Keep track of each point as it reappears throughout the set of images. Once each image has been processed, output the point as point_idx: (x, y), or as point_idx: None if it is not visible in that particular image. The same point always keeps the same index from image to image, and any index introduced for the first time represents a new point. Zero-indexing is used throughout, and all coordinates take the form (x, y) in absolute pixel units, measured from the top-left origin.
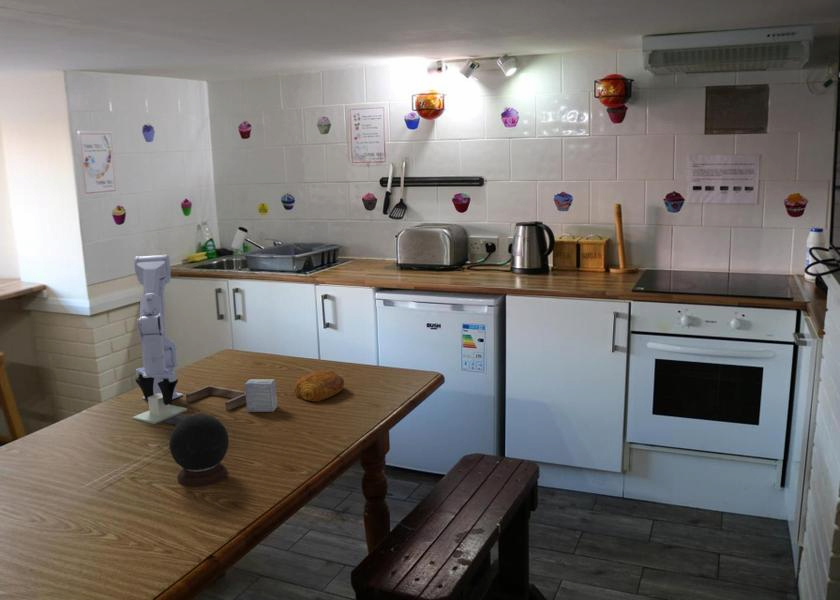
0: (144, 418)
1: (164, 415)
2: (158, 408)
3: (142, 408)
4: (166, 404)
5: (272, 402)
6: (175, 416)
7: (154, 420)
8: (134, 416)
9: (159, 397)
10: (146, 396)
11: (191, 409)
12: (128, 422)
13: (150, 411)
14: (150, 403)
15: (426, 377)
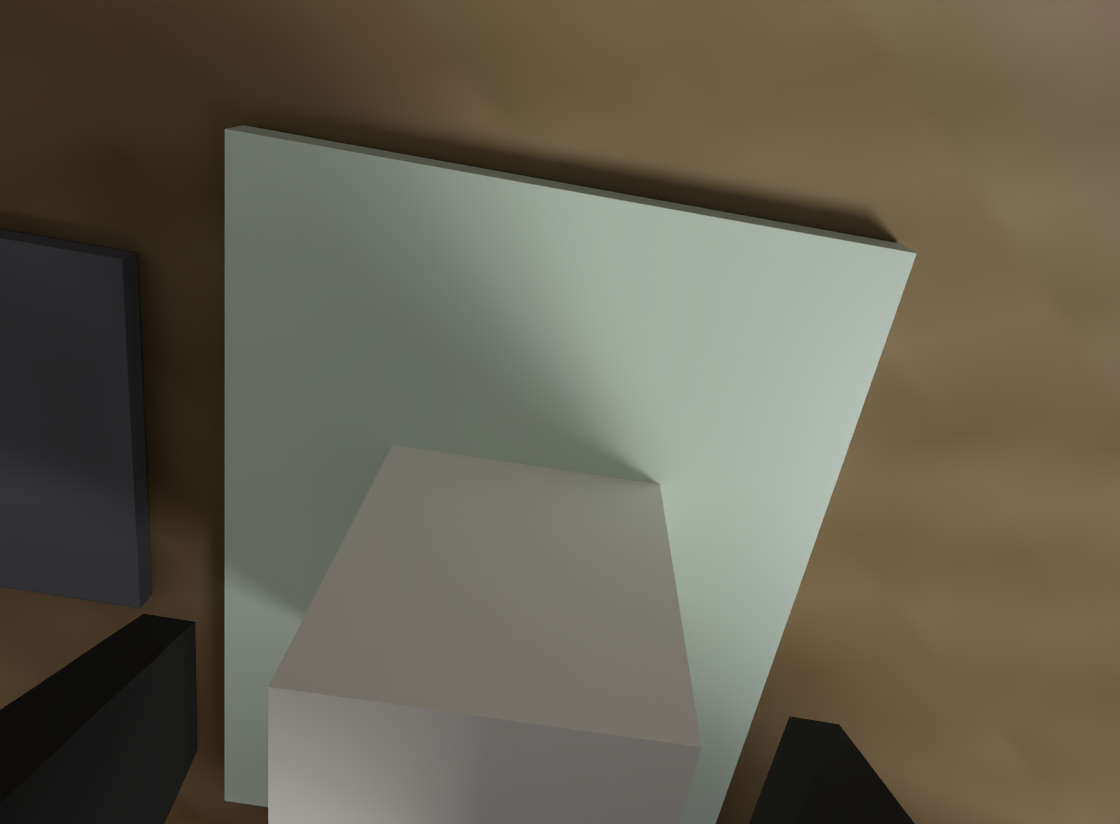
0: (589, 249)
1: (319, 483)
2: (361, 527)
3: (1015, 703)
4: (127, 628)
5: None
6: (122, 509)
7: (292, 208)
8: (889, 294)
9: (341, 800)
10: (833, 816)
11: (209, 809)
12: (880, 48)
13: (631, 507)
14: (608, 616)
15: None
